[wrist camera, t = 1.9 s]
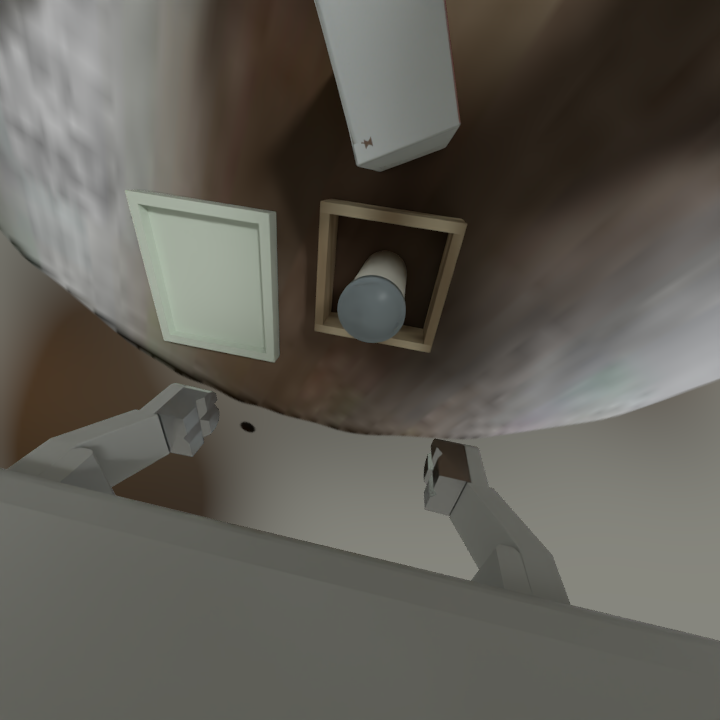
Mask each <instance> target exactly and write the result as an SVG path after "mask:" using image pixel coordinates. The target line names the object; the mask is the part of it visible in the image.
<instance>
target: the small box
mask: <svg viewBox="0 0 720 720" xmlns="http://www.w3.org/2000/svg"><path fill="white" fill-rule="evenodd" d="M314 2H315V5H316V9H317V12H318V16H319V19H320V23H321V27H322V30H323V34H324V38H325V42H326V45H327V49H328V53H329V57H330V61H331V64H332V68H333V72H334V76H335V79H336V83H337V87H338V91H339V95H340V99H341V102H342V106H343V110H344V114H345V118H346V122H347V126H348V130H349V134H350V138H351V143H352V148H353V152H354V156H355V161H356V165H357V166H358V167H362V168H366V169H371V170H375V171H379V172H382V171H384V170H387V169H390V168H392V167H395V166H398V165H401V164H403V163H406V162H409V161H411V160H414V159H417V158H419V157H422V156H425V155H427V154H430V153H433V152H435V151H438V150H441V149H443V148H445V147H446V146H447V145H448V143H449V142H450V140H451V139H452V137H453V135H454V134H455V132H456V131H457V129H458V128H459V126H460V124H461V121H460V113H459V105H458V98H457V90H456V81H455V73H454V65H453V56H452V48H451V40H450V33H449V25H448V16H447V8H446V0H314Z"/></svg>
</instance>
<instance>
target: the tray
mask: <svg viewBox="0 0 720 720" xmlns="http://www.w3.org/2000/svg"><path fill="white" fill-rule="evenodd" d="M125 193H126V197H127V201H128V204H129V208H130V212H131V216H132V220H133V224H134V227H135V231H136V235H137V239H138V243H139V246H140V250H141V254H142V258H143V262H144V266H145V269H146V273H147V277H148V281H149V285H150V288H151V292H152V296H153V300H154V304H155V308H156V311H157V315H158V319H159V323H160V327H161V330H162V334H163V338H164V341H169V342H174V343H179V344H184V345H189V346H194V347H199V348H204V349H209V350H214V351H219V352H224V353H229V354H234V355H239V356H244V357H249V358H254V359H259V360H264V361H269V362H275V361H276V360H277V359H278V357H279V356H280V347H279V308H278V268H277V228H276V212H274V211H268V210H262V209H256V208H249V207H243V206H237V205H231V204H224V203H218V202H212V201H206V200H200V199H193V198H187V197H181V196H175V195H169V194H162V193H156V192H150V191H144V190H125Z"/></svg>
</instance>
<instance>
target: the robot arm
mask: <svg viewBox="0 0 720 720" xmlns="http://www.w3.org/2000/svg"><path fill="white" fill-rule="evenodd" d="M216 401H217V397H216V393H214V392H213V391H209V390H204V389H200V388H196V387H192V386H186V385H182V384H178V383H174V384H171V385H169V386H168V387H167V388H166V389H164V390H163V391H162V392H161V393H160V394H158V395H157V396H156V397H155V398H154V399H153V400H151V401H150V402H149V403H148V404H146V405H145V406H144V407H143V408H142V409H140V410H132V411H129V412H127V413H124V414H121V415H118V416H115V417H112V418H109V419H106V420H104V421H101V422H98V423H95V424H92V425H89V426H86V427H83V428H80V429H77V430H74V431H72V432H68V433H65V434H63V435H60V436H57V437H54V438H51V439H49V440H48V441H46V442H45V443H43V444H42V445H41V446H39V447H38V448H36V449H35V450H33V451H32V452H31V453H29V454H28V455H26V456H25V457H24V458H22V459H21V460H19V461H18V462H16V463H15V464H14V465H12V466H11V467H9V468H8V469H2V468H0V720H720V641H718V640H714V639H711V638H707V637H702V636H698V635H694V634H690V633H686V632H682V631H678V630H673V629H669V628H665V627H661V626H656V625H653V624H648V623H644V622H640V621H636V620H631V619H628V618H623V617H619V616H615V615H611V614H607V613H603V612H598V611H594V610H590V609H585V608H581V607H577V606H573V605H570V602H569V599H568V596H567V594H566V591H565V588H564V585H563V583H562V580H561V577H560V575H559V572H558V569H557V567H556V564H555V561H554V558H553V556H552V554H551V553H550V552H549V551H548V550H547V549H546V547H545V546H544V545H543V544H542V543H541V542H540V541H539V539H538V538H537V537H536V536H535V535H534V534H533V533H532V532H531V530H530V529H529V528H528V527H527V526H526V525H525V524H524V522H523V521H522V520H521V519H520V518H519V517H518V516H517V514H516V513H515V512H514V511H513V510H512V509H511V508H510V507H509V505H508V504H507V503H506V502H505V501H504V500H503V499H502V497H500V495H499V494H498V493H497V492H496V491H495V490H494V488H490V487H489V486H488V482H487V478H486V474H485V470H484V466H483V462H482V458H481V454H480V450H479V448H478V447H475V446H470V445H465V444H460V443H455V442H450V441H445V440H440V439H434V440H433V442H432V444H431V453H429V454H428V455H427V458H426V461H425V466H424V482H425V483H426V485H427V486H426V488H425V491H424V503H425V510H428V511H432V512H436V513H440V514H444V515H448V516H450V519H451V521H452V523H453V525H454V526H455V528H456V530H457V531H458V533H459V535H460V537H461V538H462V540H463V542H464V544H465V546H466V547H467V549H468V551H469V552H470V554H471V556H472V558H473V560H474V561H475V563H476V565H477V567H478V568H479V571H478V572H477V573H476V575H475V576H474V577H473V579H472V580H471V581H469V580H465V579H461V578H457V577H453V576H448V575H444V574H440V573H436V572H432V571H428V570H423V569H419V568H415V567H411V566H407V565H402V564H398V563H394V562H390V561H386V560H382V559H378V558H373V557H369V556H365V555H361V554H356V553H353V552H348V551H344V550H340V549H336V548H332V547H328V546H323V545H319V544H315V543H311V542H307V541H302V540H298V539H294V538H290V537H286V536H282V535H277V534H273V533H269V532H265V531H261V530H257V529H252V528H248V527H244V526H239V525H236V524H231V523H227V522H223V521H219V520H215V519H210V518H206V517H202V516H198V515H194V514H190V513H185V512H181V511H177V510H173V509H169V508H165V507H160V506H157V505H152V504H148V503H144V502H140V501H136V500H132V499H127V498H123V497H119V496H116V495H115V494H114V492H113V490H112V488H111V487H112V486H114V485H116V484H117V483H119V482H121V481H123V480H124V479H126V478H128V477H130V476H131V475H133V474H135V473H137V472H138V471H140V470H142V469H144V468H145V467H147V466H149V465H151V464H152V463H154V462H156V461H157V460H159V459H161V458H163V457H164V456H166V455H168V454H169V452H171V453H176V454H181V455H186V456H191V457H193V456H194V454H195V453H196V452H197V451H198V449H199V448H200V447H201V446H202V444H203V443H204V438H203V437H205V436H207V435H209V434H211V433H212V432H213V431H214V429H215V428H216V426H217V423H218V421H219V409H218V408H217V407H216V406H215V404H214V403H215V402H216Z"/></svg>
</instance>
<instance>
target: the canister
mask: <svg viewBox="0 0 720 720" xmlns="http://www.w3.org/2000/svg"><path fill="white" fill-rule="evenodd" d="M406 280H407V268H406V265H405V262H404V261H403V259H402V258H401V257H400V256H399V255H397V254H396V253H394V252H391V251H386V250H385V251H378V252H376V253H374V254H372V255H371V256H370V257H369V258H368V259H367V260H366V262H365V263H364V265H363V266H362V268H361V269H360V271H359V273H358V274H357V276H356V277H355V279H354V280H353V281H352V282H351V283H349V284H348V285H347V287H346V288H345V289H344V291H343V292H342V294H341V296H340V298H339V301H338V306H337V311H338V317H339V320H340V323H341V325H342V326H343V328H344V329H345V330H346V331H347V332H348V333H349V334H350V335H351V336H353V337H354V338H356V339H358V340H360V341H363V342H368V343H378V342H383V341H386V340H388V339H390V338H392V337H393V336H394V335H395V334H397V332H398V331H399V330H400V329H401V327H402V325H403V323H404V320H405V314H406V303H405V299H404V297H405V288H406Z"/></svg>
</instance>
